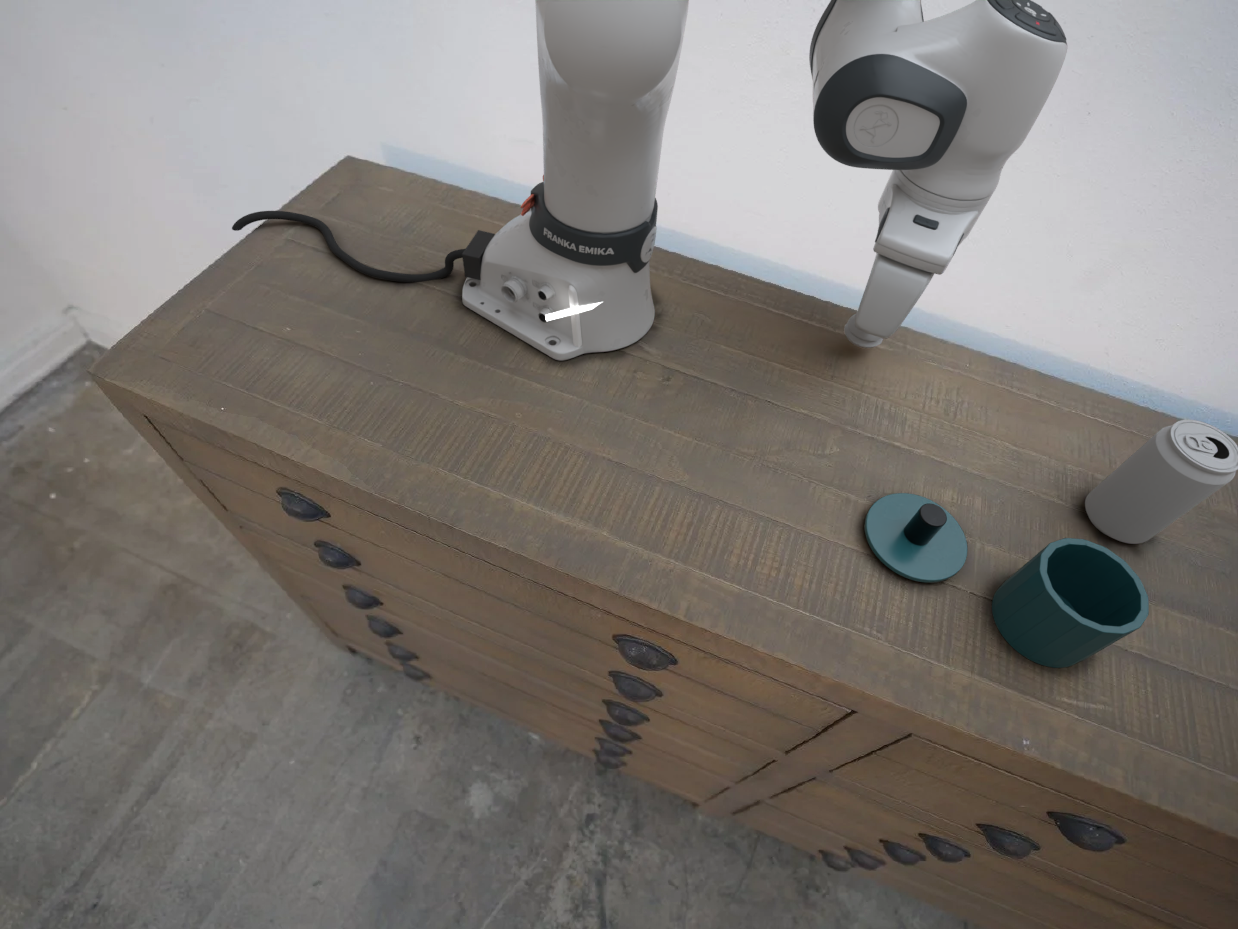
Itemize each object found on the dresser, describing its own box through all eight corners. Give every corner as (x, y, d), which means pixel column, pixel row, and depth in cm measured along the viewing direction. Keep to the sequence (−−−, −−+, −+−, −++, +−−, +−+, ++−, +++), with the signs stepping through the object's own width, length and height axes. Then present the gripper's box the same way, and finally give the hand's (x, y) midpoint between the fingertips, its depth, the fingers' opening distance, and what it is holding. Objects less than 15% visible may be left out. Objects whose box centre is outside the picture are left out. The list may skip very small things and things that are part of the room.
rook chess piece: (883, 330, 78) (914, 273, 71) (878, 355, 75) (910, 298, 69) (845, 318, 78) (873, 260, 72) (839, 342, 76) (867, 285, 69)
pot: (986, 642, 58) (1036, 604, 52) (997, 565, 62) (1043, 523, 56) (1086, 684, 56) (1149, 651, 50) (1089, 603, 61) (1148, 563, 55)
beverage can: (1155, 554, 64) (1261, 482, 55) (1086, 539, 65) (1179, 465, 55) (1139, 499, 68) (1235, 423, 58) (1074, 486, 68) (1158, 408, 59)
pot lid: (852, 559, 62) (870, 534, 58) (873, 485, 67) (891, 457, 63) (954, 602, 60) (980, 578, 56) (968, 522, 65) (992, 495, 61)
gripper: (918, 142, 70) (866, 255, 81) (874, 246, 58) (820, 360, 69) (979, 162, 68) (918, 273, 79) (947, 271, 57) (880, 384, 68)
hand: (872, 315), depth 74 cm, fingers closed on rook chess piece, 3 cm apart
